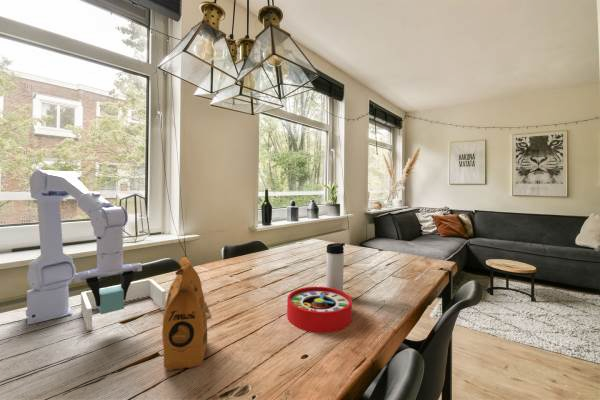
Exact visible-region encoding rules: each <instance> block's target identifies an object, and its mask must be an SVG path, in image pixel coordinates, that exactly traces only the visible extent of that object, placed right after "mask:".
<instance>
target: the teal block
mask: <svg viewBox="0 0 600 400" xmlns="http://www.w3.org/2000/svg"><path fill="white" fill-rule="evenodd" d="M118 285H119V286H116V285H113V286H114V287H111V286H108V287H109V288H106V287H103V288H104V289H101V288H99V296H100V306H98V308H97V309H98V310H99V311H98V312H99V313H100V315H104V314H105V315H106V314H109V313H112V312H116V311H120V310H124V309H125V302H124V290H123V289H122V288H121V286H120V285H121V284H118Z"/></svg>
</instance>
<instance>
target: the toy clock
mask: <svg viewBox="0 0 600 400" xmlns="http://www.w3.org/2000/svg"><path fill="white" fill-rule="evenodd" d="M286 300H287V301H286V302H287V304H286V305H287V306H286V307H287V308H286V317H287V320H288V322H289V323H290V324H291V325H293V326H294V327H296V328H297V329H299V330H303V331H306V332H311V333H317V334H325V333H326V334H327V333H335V332H338V331H341V330H344V329H346V328H347V327H349V325H350V324H351V323H352V315H353V313H352V312H353V310H352V309H353V300H352V297H351V296H350V294H348V293H346V292H344V290H343V291H340V290H337V289H333V288H328V287H326V286H307V287H306V286H305V287H301V288H298V289H295V290H293V291H291V292H290V293H289V294H288V295H287V299H286Z"/></svg>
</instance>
